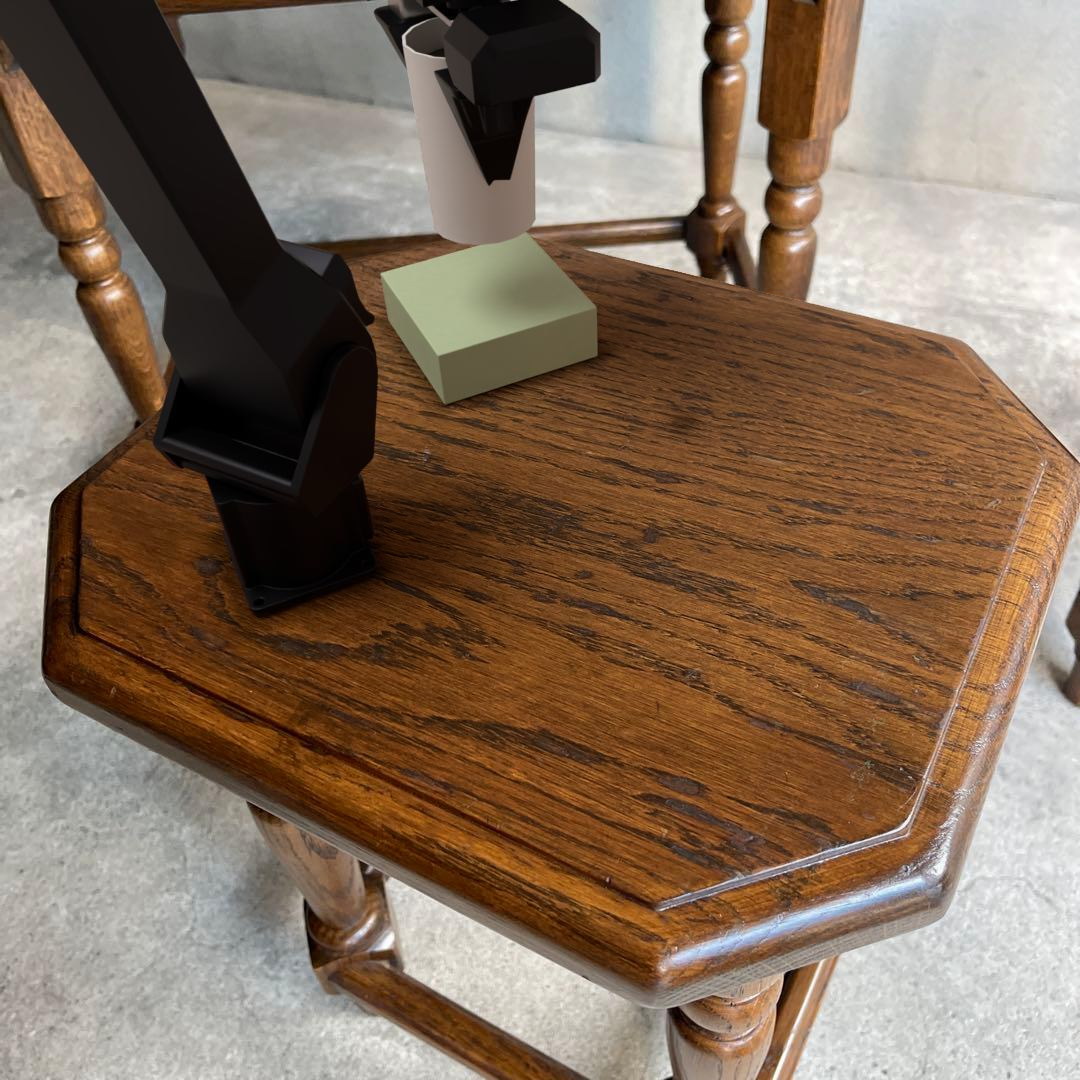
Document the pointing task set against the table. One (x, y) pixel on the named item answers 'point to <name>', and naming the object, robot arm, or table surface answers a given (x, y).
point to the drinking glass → (463, 155)
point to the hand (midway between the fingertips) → (478, 167)
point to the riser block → (489, 316)
